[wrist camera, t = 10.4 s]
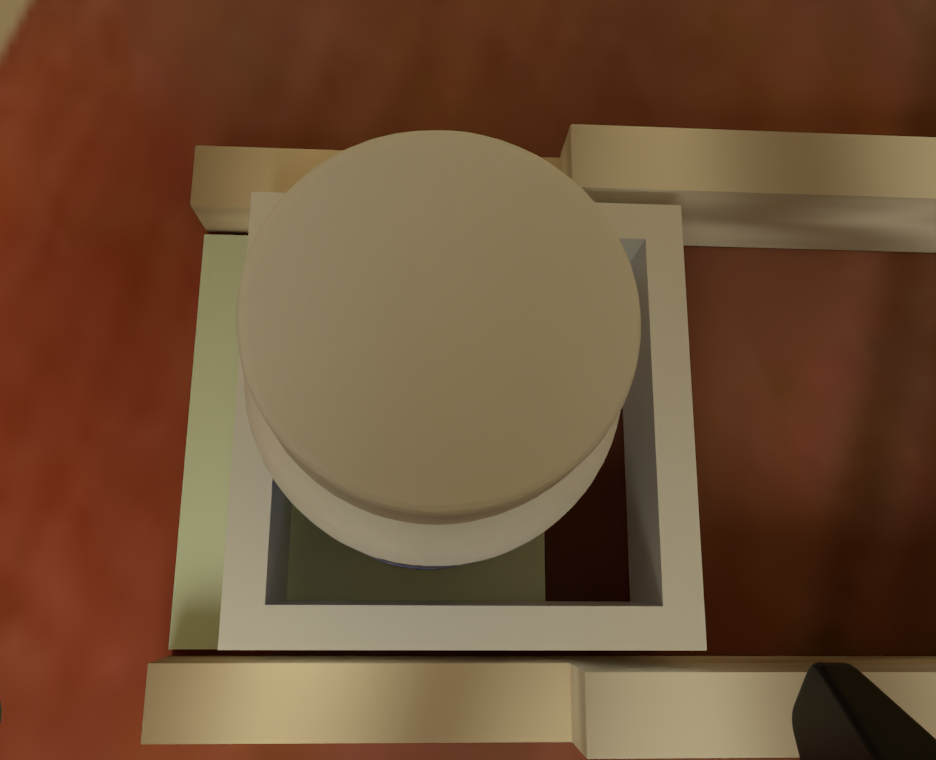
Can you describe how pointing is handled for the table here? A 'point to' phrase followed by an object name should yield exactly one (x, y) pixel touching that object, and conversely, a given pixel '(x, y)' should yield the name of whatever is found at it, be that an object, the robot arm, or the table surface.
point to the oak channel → (581, 677)
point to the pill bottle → (436, 346)
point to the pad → (311, 550)
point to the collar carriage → (509, 622)
